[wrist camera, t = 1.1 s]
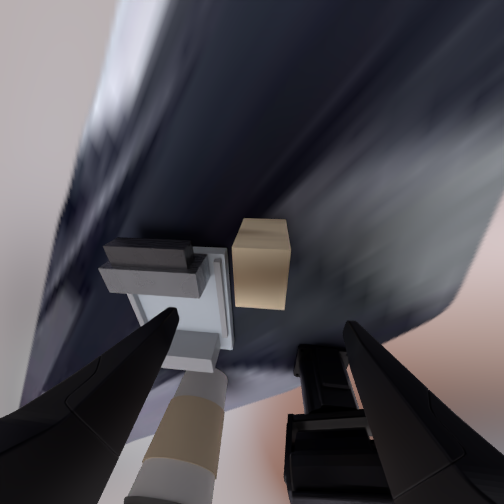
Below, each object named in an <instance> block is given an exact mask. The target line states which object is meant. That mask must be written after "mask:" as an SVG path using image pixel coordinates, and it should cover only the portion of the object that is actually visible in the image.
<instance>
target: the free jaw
mask: <svg viewBox="0 0 504 504" xmlns="http://www.w3.org/2000/svg"><path fill="white" fill-rule="evenodd" d="M103 247H104V250H105V252H106V254H107V256H108V259H109V261H108V262H107V263H105V264H104V265H102V266H101V267H99V268H98V269H99V271H100V273H101V275H102V277H103V279H104V281H105V283H106V286H107V288H108V290H109V292H111V293H126V294H140V295H154V296H169V297H183V298H198V299H200V297H201V295H202V293H203V291H204V289H205V287H206V285H207V283H208V281H209V279H210V269H209V262H208V255H207V254H194V251H193V246H192V240H168V239H144V238H120V237H118V238H116V239H114V240H113V241H111V242H109V243H108V244H106V245H104V246H103Z"/></svg>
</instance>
